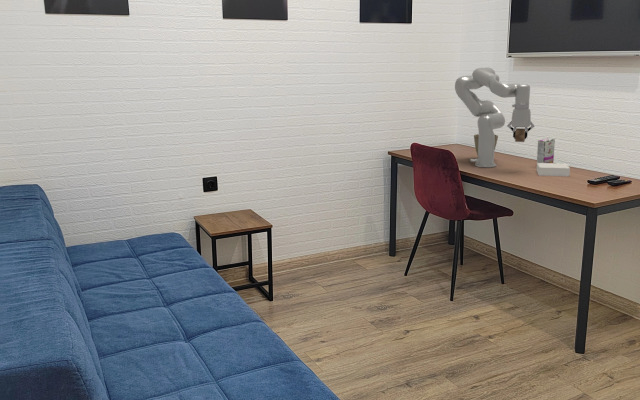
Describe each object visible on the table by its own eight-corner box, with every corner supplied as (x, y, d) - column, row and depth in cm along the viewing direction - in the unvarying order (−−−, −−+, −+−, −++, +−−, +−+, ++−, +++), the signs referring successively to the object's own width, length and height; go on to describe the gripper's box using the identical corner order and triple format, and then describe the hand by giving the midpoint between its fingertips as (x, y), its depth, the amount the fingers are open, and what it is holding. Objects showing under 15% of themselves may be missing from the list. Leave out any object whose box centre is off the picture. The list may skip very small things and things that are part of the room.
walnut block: (515, 141, 332) (515, 129, 330) (515, 140, 337) (516, 128, 335) (524, 141, 330) (525, 129, 329) (524, 140, 335) (525, 128, 333)
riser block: (538, 176, 327) (539, 167, 326) (536, 171, 340) (537, 162, 339) (569, 177, 323) (570, 168, 322) (565, 172, 336) (566, 163, 335)
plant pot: (468, 160, 376) (469, 136, 373) (479, 157, 387) (480, 133, 383) (490, 163, 367) (491, 137, 363) (500, 159, 377) (502, 135, 374)
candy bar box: (545, 164, 356) (547, 138, 352) (553, 166, 353) (555, 139, 349) (535, 167, 350) (537, 140, 346) (543, 168, 346) (545, 141, 342)
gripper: (505, 107, 328) (504, 139, 333) (537, 107, 323) (535, 140, 327) (506, 106, 335) (504, 137, 340) (538, 106, 329) (535, 138, 334)
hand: (520, 138), depth 333 cm, fingers closed on walnut block, 5 cm apart
